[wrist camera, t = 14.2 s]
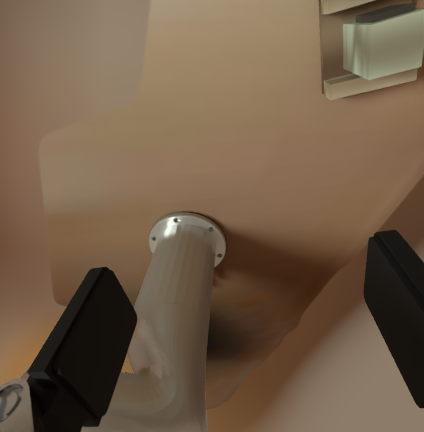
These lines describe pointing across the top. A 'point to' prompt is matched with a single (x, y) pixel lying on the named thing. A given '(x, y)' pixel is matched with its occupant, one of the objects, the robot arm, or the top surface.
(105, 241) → the top surface
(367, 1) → the rail board
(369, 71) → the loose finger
